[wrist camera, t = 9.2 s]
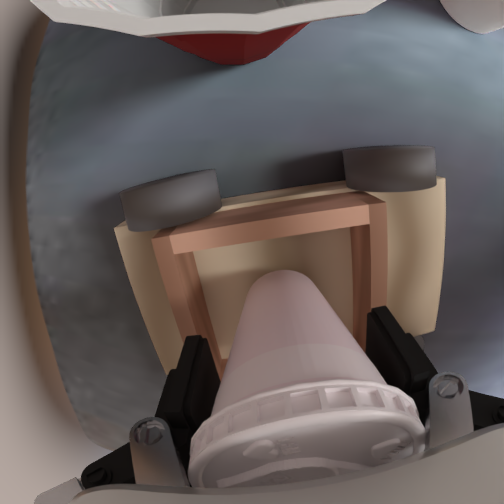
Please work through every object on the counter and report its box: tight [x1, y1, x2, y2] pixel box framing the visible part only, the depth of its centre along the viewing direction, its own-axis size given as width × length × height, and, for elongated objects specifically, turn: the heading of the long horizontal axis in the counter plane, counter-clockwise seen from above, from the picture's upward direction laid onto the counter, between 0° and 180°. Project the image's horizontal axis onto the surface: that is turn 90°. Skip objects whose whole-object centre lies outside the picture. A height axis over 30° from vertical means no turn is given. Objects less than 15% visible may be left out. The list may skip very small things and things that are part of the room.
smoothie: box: [188, 270, 427, 488], centre depth 8 cm, size 6×6×14 cm
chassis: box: [114, 145, 446, 381], centre depth 16 cm, size 18×14×5 cm
